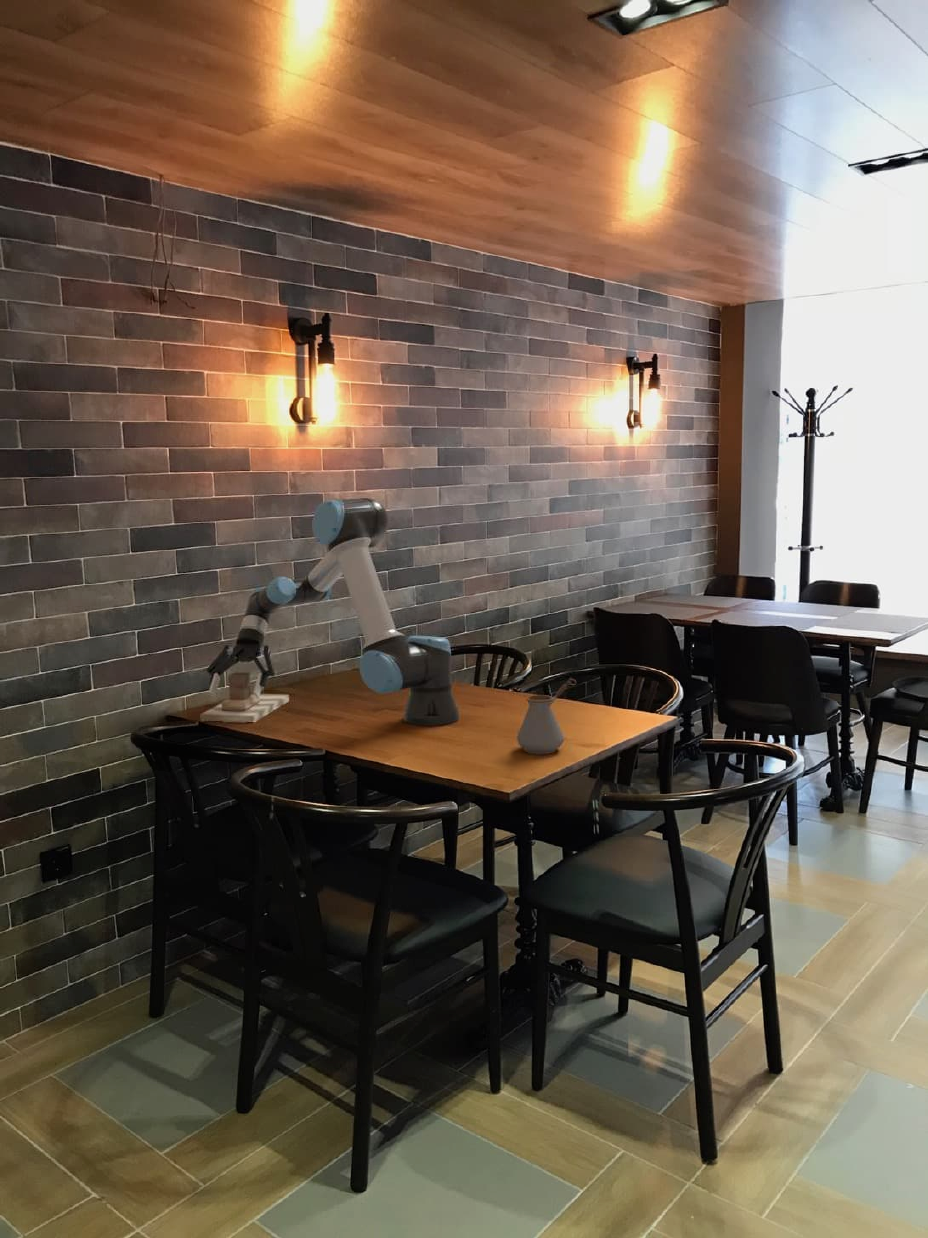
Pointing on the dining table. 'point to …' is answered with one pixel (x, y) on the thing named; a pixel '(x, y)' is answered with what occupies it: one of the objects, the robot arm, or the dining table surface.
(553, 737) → the coffee pot
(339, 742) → the dining table surface
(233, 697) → the sanding block
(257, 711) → the birch board
